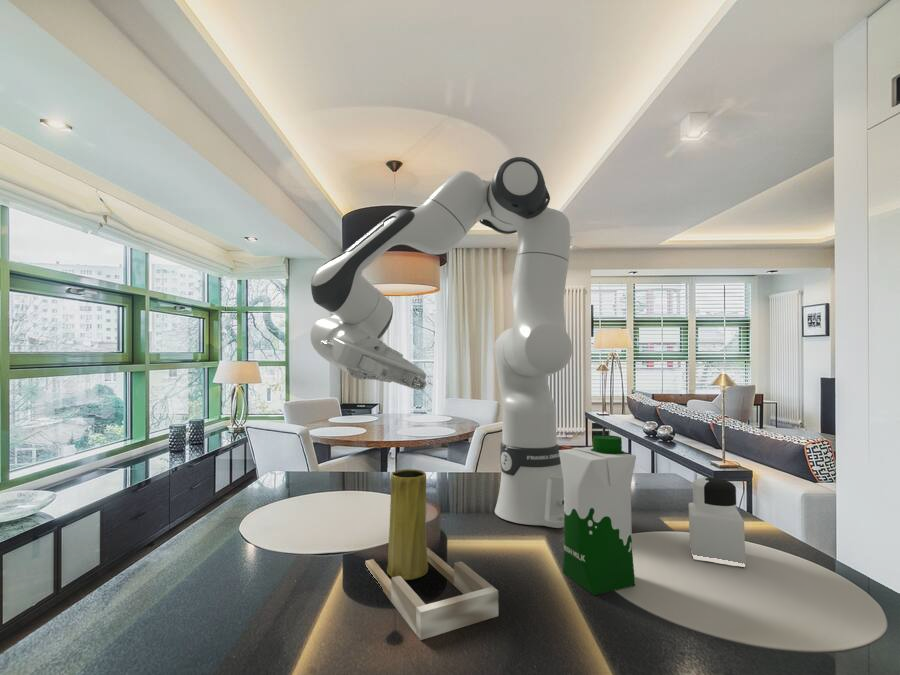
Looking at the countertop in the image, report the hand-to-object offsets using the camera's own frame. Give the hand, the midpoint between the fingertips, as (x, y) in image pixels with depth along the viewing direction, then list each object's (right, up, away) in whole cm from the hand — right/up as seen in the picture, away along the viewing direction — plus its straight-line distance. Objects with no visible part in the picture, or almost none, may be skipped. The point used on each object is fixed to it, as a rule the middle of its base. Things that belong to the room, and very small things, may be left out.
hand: (404, 379), depth 78 cm
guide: (+5, -27, -16) cm, 32 cm away
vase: (+2, -28, -11) cm, 30 cm away
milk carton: (+29, -28, -13) cm, 42 cm away
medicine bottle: (+51, -28, -5) cm, 58 cm away
